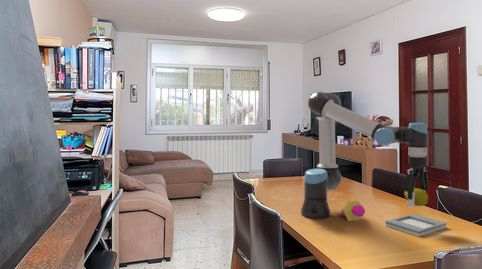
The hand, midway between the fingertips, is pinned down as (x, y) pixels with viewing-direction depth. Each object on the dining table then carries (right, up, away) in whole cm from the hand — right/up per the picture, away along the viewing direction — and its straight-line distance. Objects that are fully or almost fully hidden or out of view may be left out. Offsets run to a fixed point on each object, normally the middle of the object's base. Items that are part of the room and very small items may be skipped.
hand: (416, 204), depth 149 cm
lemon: (0, -1, 0) cm, 1 cm away
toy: (-26, -10, +12) cm, 30 cm away
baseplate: (0, -10, +1) cm, 10 cm away
